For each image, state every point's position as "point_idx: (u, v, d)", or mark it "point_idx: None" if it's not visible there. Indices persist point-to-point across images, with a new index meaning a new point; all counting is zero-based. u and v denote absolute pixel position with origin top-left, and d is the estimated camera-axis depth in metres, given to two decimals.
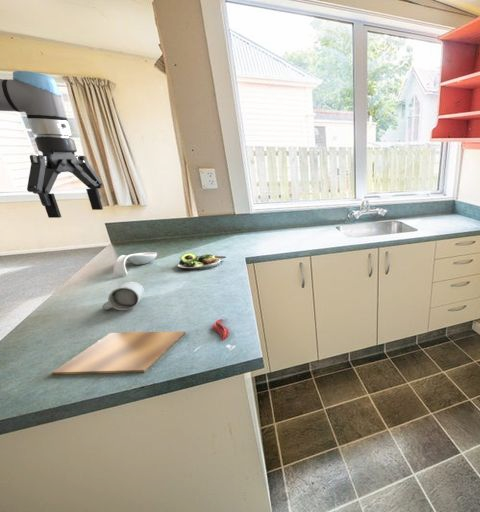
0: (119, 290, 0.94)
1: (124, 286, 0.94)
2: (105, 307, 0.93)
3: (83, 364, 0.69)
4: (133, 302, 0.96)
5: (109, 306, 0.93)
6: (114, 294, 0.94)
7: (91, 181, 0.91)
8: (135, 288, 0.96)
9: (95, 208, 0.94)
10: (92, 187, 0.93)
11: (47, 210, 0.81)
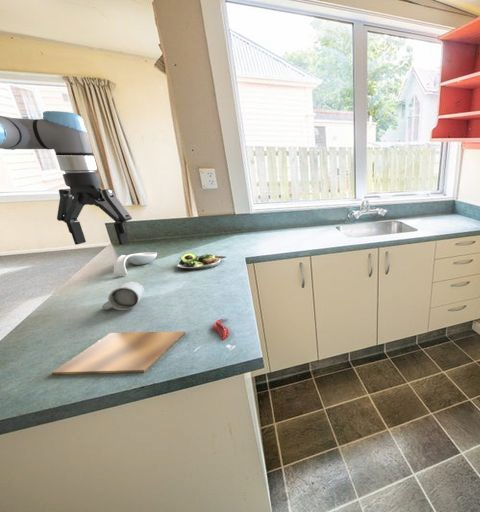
0: (119, 290, 0.94)
1: (124, 286, 0.94)
2: (105, 307, 0.93)
3: (83, 364, 0.69)
4: (133, 302, 0.96)
5: (109, 306, 0.93)
6: (114, 294, 0.94)
7: None
8: (135, 288, 0.96)
9: (80, 242, 0.90)
10: (72, 221, 0.89)
11: (121, 237, 0.89)
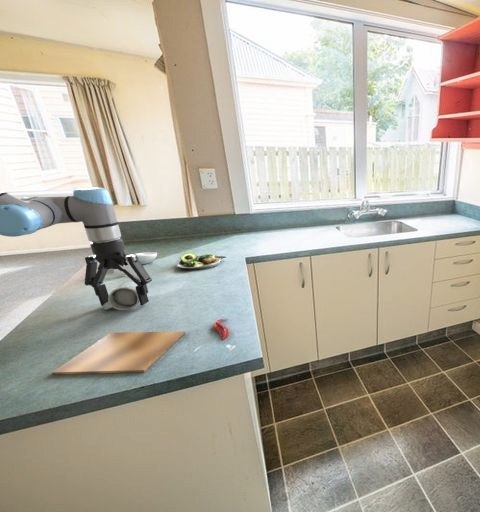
0: (119, 290, 0.94)
1: (124, 286, 0.94)
2: (105, 307, 0.93)
3: (83, 364, 0.69)
4: (133, 302, 0.96)
5: (109, 306, 0.93)
6: (114, 294, 0.94)
7: None
8: (135, 288, 0.96)
9: None
10: (99, 284, 0.94)
11: (142, 298, 0.96)
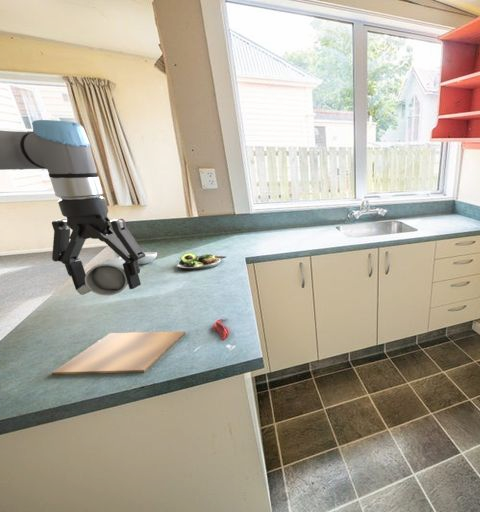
0: (100, 268, 0.69)
1: (107, 263, 0.69)
2: (81, 291, 0.68)
3: (83, 364, 0.69)
4: (120, 285, 0.71)
5: (86, 290, 0.68)
6: (93, 274, 0.69)
7: None
8: (122, 266, 0.71)
9: None
10: (72, 260, 0.70)
11: (132, 280, 0.71)
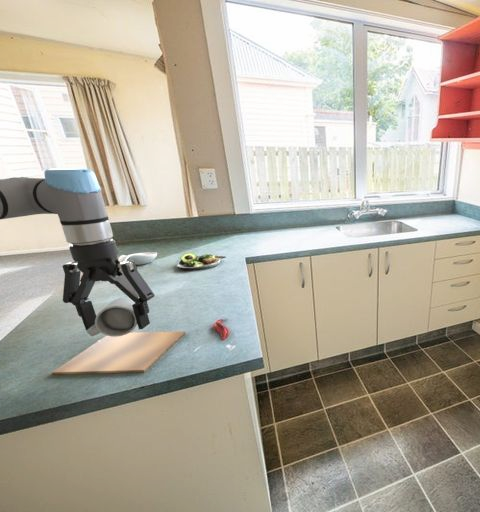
0: (110, 309, 0.69)
1: (117, 304, 0.69)
2: (91, 333, 0.68)
3: (83, 364, 0.69)
4: (129, 325, 0.71)
5: (96, 331, 0.68)
6: (103, 315, 0.69)
7: None
8: None
9: None
10: (82, 301, 0.70)
11: (141, 320, 0.71)
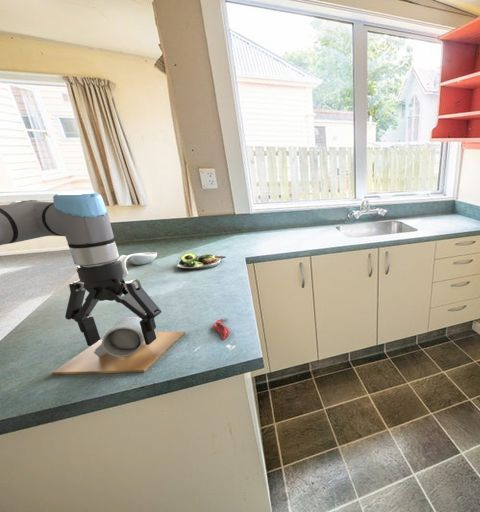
0: (116, 330, 0.71)
1: (123, 325, 0.71)
2: (98, 353, 0.70)
3: (83, 364, 0.69)
4: (135, 345, 0.73)
5: (103, 352, 0.70)
6: (110, 336, 0.71)
7: None
8: (137, 327, 0.73)
9: (94, 341, 0.73)
10: (84, 317, 0.71)
11: (148, 336, 0.72)
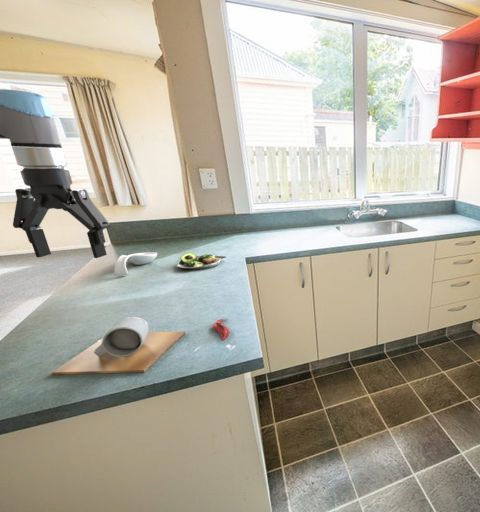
0: (116, 330, 0.71)
1: (123, 325, 0.71)
2: (98, 353, 0.70)
3: (83, 364, 0.69)
4: (135, 345, 0.73)
5: (103, 352, 0.70)
6: (110, 336, 0.71)
7: None
8: (138, 327, 0.73)
9: (43, 254, 0.73)
10: (33, 228, 0.71)
11: (96, 249, 0.73)
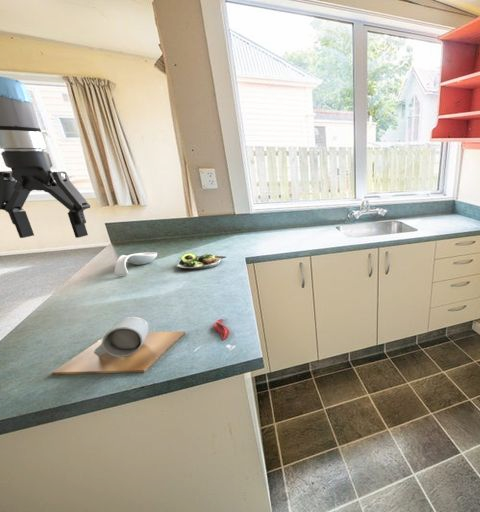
0: (116, 330, 0.71)
1: (123, 325, 0.71)
2: (98, 353, 0.70)
3: (83, 364, 0.69)
4: (135, 345, 0.73)
5: (103, 352, 0.70)
6: (110, 336, 0.71)
7: None
8: (138, 327, 0.73)
9: (26, 235, 0.77)
10: (16, 210, 0.75)
11: (77, 229, 0.76)
